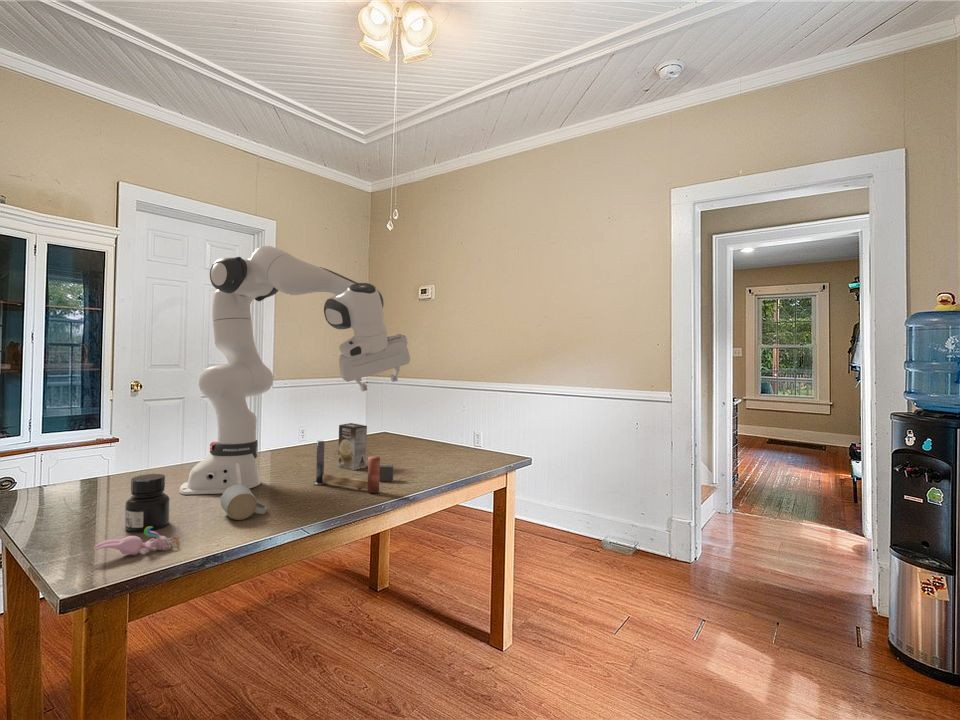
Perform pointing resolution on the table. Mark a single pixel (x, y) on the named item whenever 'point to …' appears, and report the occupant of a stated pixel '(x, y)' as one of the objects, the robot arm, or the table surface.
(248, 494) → the ceramic mug
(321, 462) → the hinge post
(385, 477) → the catch block
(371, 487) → the gate
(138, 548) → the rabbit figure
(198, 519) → the table surface
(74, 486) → the table surface
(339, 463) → the coffee box
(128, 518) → the ink bottle
